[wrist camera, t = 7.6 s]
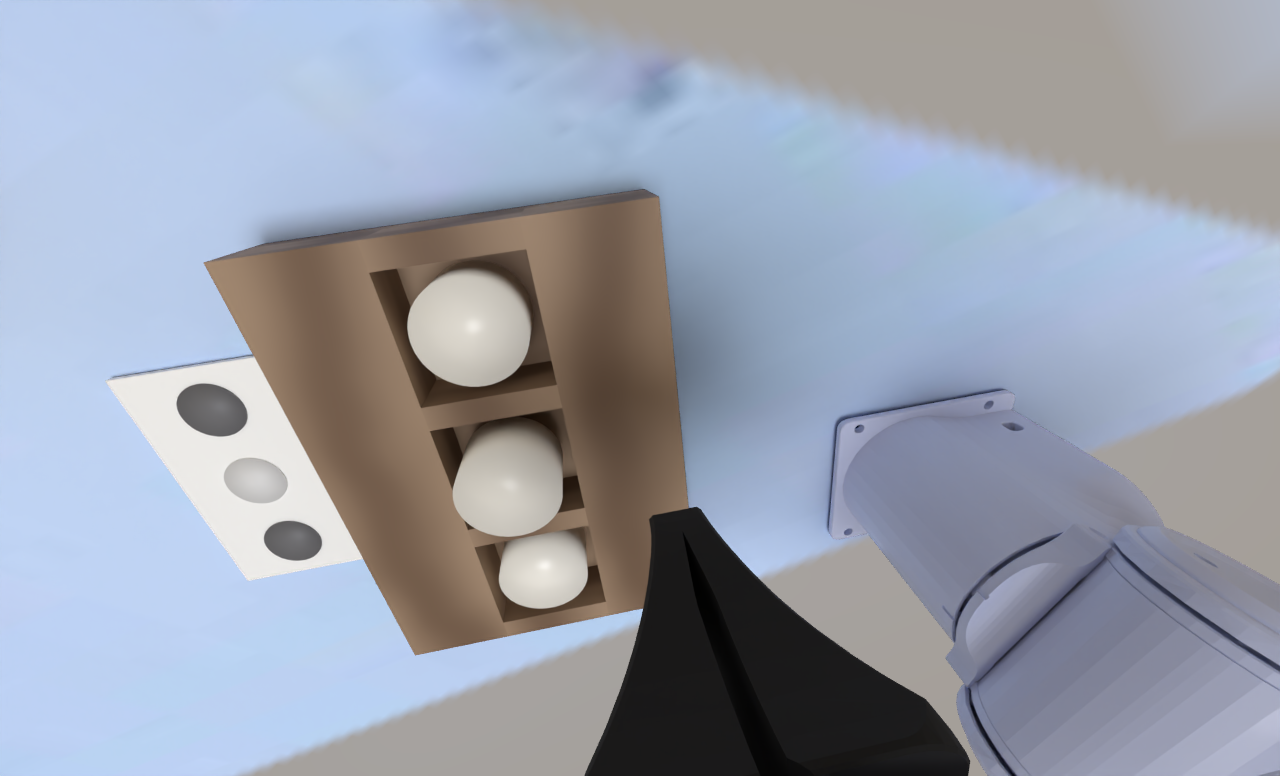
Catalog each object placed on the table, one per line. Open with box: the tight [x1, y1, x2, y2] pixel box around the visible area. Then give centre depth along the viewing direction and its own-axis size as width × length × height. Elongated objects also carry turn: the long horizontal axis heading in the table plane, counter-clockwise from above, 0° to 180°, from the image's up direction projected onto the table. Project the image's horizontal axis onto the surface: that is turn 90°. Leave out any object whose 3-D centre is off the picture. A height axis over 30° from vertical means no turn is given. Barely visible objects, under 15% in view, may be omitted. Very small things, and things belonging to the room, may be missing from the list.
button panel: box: [204, 189, 688, 655], centre depth 21 cm, size 14×19×3 cm
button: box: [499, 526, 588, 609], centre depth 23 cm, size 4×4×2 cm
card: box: [105, 355, 363, 581], centre depth 21 cm, size 6×11×1 cm, turn 7°
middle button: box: [453, 417, 563, 537], centre depth 19 cm, size 4×4×2 cm
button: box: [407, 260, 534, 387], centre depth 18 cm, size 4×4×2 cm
